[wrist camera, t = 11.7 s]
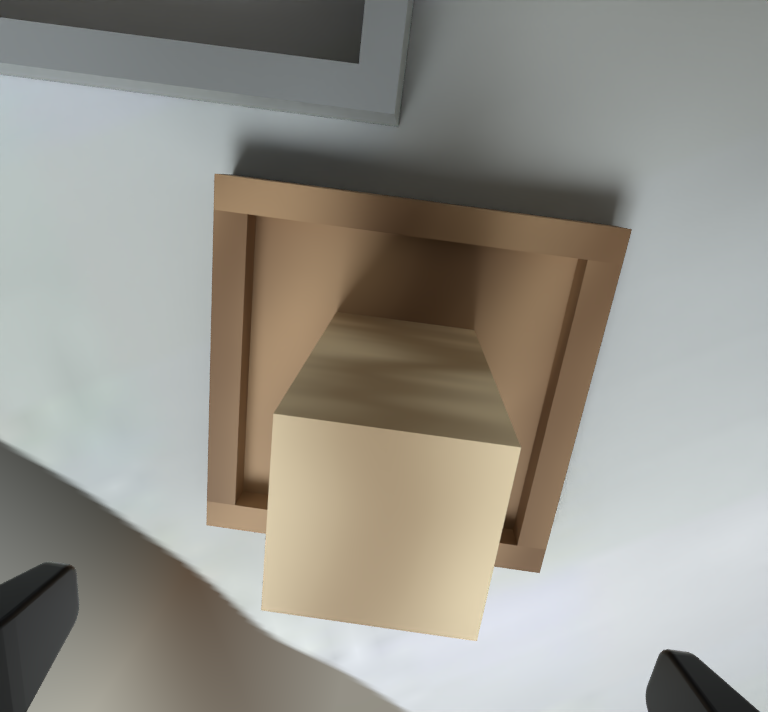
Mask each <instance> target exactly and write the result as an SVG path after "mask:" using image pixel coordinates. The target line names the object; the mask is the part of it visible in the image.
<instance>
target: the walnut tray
mask: <svg viewBox="0 0 768 712" xmlns="http://www.w3.org/2000/svg"><path fill="white" fill-rule="evenodd" d="M631 231H632V229H627V228H622V227H617V226H612V225H605V224H598V223H590V222H583V221H575V220H568V219H560V218H553V217H545V216H538V215H530V214H523V213H515V212H508V211H500V210H493V209H485V208H478V207H470V206H463V205H455V204H448V203H440V202H433V201H425V200H418V199H410V198H403V197H395V196H388V195H380V194H373V193H365V192H358V191H350V190H343V189H335V188H328V187H320V186H313V185H305V184H298V183H290V182H283V181H275V180H268V179H261V178H253V177H246V176H238V175H228V174H215V180H214V223H213V267H212V310H211V353H210V397H209V440H208V483H207V525H209V526H216V527H223V528H230V529H237V530H244V531H251V532H258V533H265V534H266V525H267V509H268V493H269V477H270V460H271V444H272V428H273V413H274V412H275V410H276V409H277V407H278V405H279V404H280V402H281V400H282V399H283V397H284V396H285V394H286V392H287V391H288V389H289V388H290V386H291V384H292V383H293V381H294V379H295V378H296V376H297V375H298V373H299V371H300V370H301V368H302V367H303V365H304V363H305V362H306V360H307V359H308V357H309V355H310V354H311V352H312V350H313V349H314V347H315V346H316V344H317V342H318V341H319V339H320V338H321V336H322V334H323V333H324V331H325V329H326V328H327V326H328V325H329V323H330V321H331V320H332V318H333V317H334V315H335V313H336V312H342V313H350V314H357V315H365V316H372V317H380V318H387V319H395V320H402V321H410V322H417V323H425V324H432V325H440V326H447V327H455V328H462V329H470V330H474V331H475V333H476V336H477V338H478V341H479V343H480V346H481V348H482V351H483V353H484V356H485V358H486V361H487V363H488V366H489V368H490V371H491V373H492V376H493V378H494V381H495V383H496V386H497V388H498V391H499V393H500V396H501V398H502V401H503V403H504V406H505V408H506V411H507V413H508V416H509V418H510V421H511V423H512V426H513V428H514V431H515V433H516V436H517V438H518V441H519V443H520V446H521V451H520V455H519V459H518V464H517V468H516V472H515V477H514V481H513V485H512V490H511V494H510V499H509V503H508V507H507V512H506V516H505V520H504V525H503V529H502V533H501V538H500V542H499V546H498V551H497V555H496V560H495V564H494V566H495V567H502V568H509V569H516V570H522V571H529V572H536V573H540V569H541V566H542V562H543V558H544V554H545V551H546V547H547V543H548V540H549V536H550V532H551V528H552V525H553V521H554V517H555V513H556V510H557V506H558V502H559V499H560V495H561V491H562V487H563V484H564V480H565V476H566V473H567V469H568V465H569V461H570V458H571V454H572V450H573V446H574V443H575V439H576V435H577V432H578V428H579V424H580V420H581V417H582V413H583V409H584V405H585V402H586V398H587V394H588V391H589V387H590V383H591V379H592V376H593V372H594V368H595V365H596V361H597V357H598V353H599V350H600V346H601V342H602V338H603V335H604V331H605V327H606V324H607V320H608V316H609V312H610V309H611V305H612V301H613V298H614V294H615V290H616V286H617V283H618V279H619V275H620V271H621V268H622V264H623V260H624V257H625V253H626V249H627V245H628V242H629V238H630V234H631Z"/></svg>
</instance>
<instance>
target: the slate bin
mask: <svg viewBox="0 0 768 712" xmlns="http://www.w3.org/2000/svg"><path fill="white" fill-rule="evenodd" d="M413 4H414V0H365V6H364V16H363V26H362V36H361V46H360V57H359V64H356V63H348V62H340V61H333V60H325V59H317V58H310V57H302V56H294V55H286V54H279V53H271V52H263V51H256V50H248V49H240V48H233V47H225V46H217V45H209V44H202V43H194V42H186V41H179V40H171V39H163V38H156V37H148V36H140V35H133V34H125V33H117V32H109V31H102V30H94V29H86V28H79V27H71V26H63V25H56V24H48V23H40V22H32V21H25V20H17V19H9V18H2V17H0V74H1V75H8V76H16V77H24V78H31V79H39V80H46V81H54V82H62V83H69V84H77V85H84V86H92V87H100V88H107V89H115V90H122V91H130V92H138V93H145V94H153V95H160V96H168V97H176V98H183V99H191V100H198V101H206V102H214V103H221V104H229V105H236V106H244V107H252V108H259V109H267V110H274V111H282V112H290V113H297V114H305V115H312V116H320V117H328V118H335V119H343V120H350V121H358V122H366V123H373V124H381V125H388V126H396V127H398V125H399V117H400V109H401V101H402V93H403V85H404V76H405V68H406V60H407V52H408V44H409V36H410V28H411V20H412V12H413Z"/></svg>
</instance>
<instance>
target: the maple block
mask: <svg viewBox="0 0 768 712" xmlns="http://www.w3.org/2000/svg"><path fill="white" fill-rule="evenodd" d="M520 451H521V446H520V443H519V441H518V438H517V436H516V433H515V431H514V428H513V426H512V423H511V421H510V418H509V416H508V413H507V411H506V408H505V406H504V403H503V401H502V398H501V396H500V393H499V391H498V388H497V386H496V383H495V381H494V378H493V376H492V373H491V371H490V368H489V366H488V363H487V361H486V358H485V356H484V353H483V351H482V348H481V346H480V343H479V341H478V338H477V336H476V333H475V331H474V330H470V329H462V328H455V327H447V326H440V325H432V324H425V323H417V322H410V321H402V320H395V319H387V318H380V317H372V316H365V315H357V314H350V313H342V312H336V313H335V315H334V317H333V318H332V320H331V321H330V323H329V325H328V326H327V328H326V329H325V331H324V333H323V334H322V336H321V338H320V339H319V341H318V342H317V344H316V346H315V347H314V349H313V350H312V352H311V354H310V355H309V357H308V359H307V360H306V362H305V363H304V365H303V367H302V368H301V370H300V371H299V373H298V375H297V376H296V378H295V379H294V381H293V383H292V384H291V386H290V388H289V389H288V391H287V392H286V394H285V396H284V397H283V399H282V400H281V402H280V404H279V405H278V407H277V409H276V410H275V412H274V413H273V428H272V444H271V460H270V477H269V493H268V509H267V525H266V542H265V558H264V574H263V590H262V607H261V610H263V611H270V612H277V613H284V614H291V615H298V616H305V617H312V618H319V619H326V620H333V621H340V622H347V623H354V624H361V625H368V626H375V627H382V628H389V629H396V630H403V631H410V632H417V633H424V634H431V635H438V636H445V637H452V638H459V639H466V640H472V641H477V638H478V634H479V629H480V625H481V620H482V616H483V612H484V607H485V603H486V599H487V594H488V590H489V586H490V581H491V577H492V573H493V568H494V564H495V560H496V555H497V551H498V546H499V542H500V538H501V533H502V529H503V525H504V520H505V516H506V512H507V507H508V503H509V499H510V494H511V490H512V485H513V481H514V477H515V472H516V468H517V464H518V459H519V455H520Z"/></svg>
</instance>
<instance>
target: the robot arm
mask: <svg viewBox="0 0 768 712" xmlns="http://www.w3.org/2000/svg"><path fill="white" fill-rule="evenodd" d="M78 611H79V598H78V584H77V573H76V569H75V568H74V566H72V565H70V564H63V563H56V562H45V563H42V564H40V565H38V566H36V567H34V568H32V569H30V570H28V571H26V572H24V573H22V574H20V575H18V576H16V577H14V578H12V579H10V580H8V581H6V582H4V583H2V584H0V712H27V710H28V708H29V706H30V704H31V702H32V701H33V699H34V697H35V695H36V693H37V691H38V690H39V688H40V686H41V684H42V682H43V680H44V679H45V677H46V675H47V673H48V671H49V669H50V668H51V666H52V664H53V662H54V660H55V658H56V657H57V655H58V653H59V651H60V649H61V647H62V646H63V644H64V642H65V640H66V638H67V637H68V635H69V633H70V631H71V629H72V627H73V626H74V623H75V621H76V619H77V615H78ZM646 705H647V709H648V712H760V711H758V710H757V709H756V708H755V707H754V706H753V705H752V704H750V703H749V702H748V701H747V700H746V699H745V698H744V697H742V696H741V695H740V694H739V693H738V692H737V691H735V690H734V689H733V688H732V687H731V686H730V685H729V684H727V683H726V682H725V681H724V680H723V679H722V678H721V677H719V676H718V675H717V674H716V673H715V672H714V671H713V670H711V669H710V668H709V667H708V666H707V665H706V664H704V663H703V662H702V661H701V660H700V659H699V658H698V657H696V656H695V655H693V654H692V653H689V652H683V651H677V650H670V649H666V650H663V651H662V652H661V653H660V654H659V656H658V659H657V661H656V664H655V667H654V669H653V672H652V675H651V677H650V680H649V683H648V685H647V689H646Z"/></svg>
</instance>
